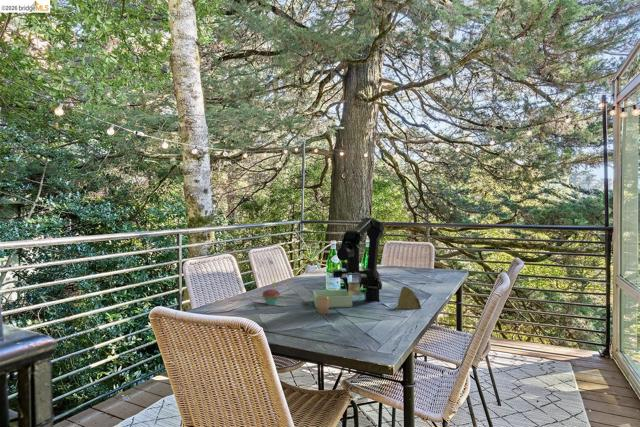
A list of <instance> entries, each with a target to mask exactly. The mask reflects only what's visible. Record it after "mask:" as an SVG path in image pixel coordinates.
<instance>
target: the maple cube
mask: <svg viewBox="0 0 640 427" xmlns="http://www.w3.org/2000/svg"><path fill="white" fill-rule="evenodd" d="M360 291H361V289H360V284H359V281H348V292H347V294H348V295H352V296H360Z"/></svg>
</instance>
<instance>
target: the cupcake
mask: <svg viewBox="0 0 640 427" xmlns="http://www.w3.org/2000/svg"><path fill="white" fill-rule="evenodd" d="M272 282H273V283H272V289H271V288H270V289H266V290H264V291H263V292H262V296H261V297H262V298H263V299H264V300H265V302H266V304H267V305H268V306H271V305H272V306H274V305H276V304H277V302H278V299H279V297H280V295H281V293H280V292H279V291H278V290H277V289H275V280H273V281H272Z"/></svg>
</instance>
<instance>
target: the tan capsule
mask: <svg viewBox="0 0 640 427" xmlns="http://www.w3.org/2000/svg"><path fill="white" fill-rule="evenodd" d="M317 313H318V314H322V315H325V314H328V313H330V308H329V297H328V296H318V308H317Z"/></svg>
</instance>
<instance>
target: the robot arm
mask: <svg viewBox="0 0 640 427" xmlns="http://www.w3.org/2000/svg"><path fill="white" fill-rule="evenodd" d="M384 231H385V225H384V224H382V222H381V221H378V220H376V219H374V218H373V217H365V218H363V220H362V221H361V222H360V223H358V225H356V226H355V227H353V228H349V229H348V230H345V233H344V234H343V236H342V240H341V242H340V248H338V250H337V252H336V257H337V258H338V260H340V261H341V265H340V266H341V269H338V268H336V269H333V270H332V272H331V273H332V274H331V275H332V277H333V278H339V279H341V280H342V281H343V284H344V287H345V290H347V292H348V282H349V281H348V276H358V283H359V284H360V290H361V289H362V288H363V289H365V291H364V300H365V301H366V302H367V303H379V302H381V299H380V290H383V283H382V280H381V279H380V274H379V271H378V268H377V267H378V257H379V256H378V255H379V254H378V253H379V244H380V240H381V238H382V237H383V235H384ZM365 233H366V235H367V237H368V252H367V254H368V255H367V262H366V263H367V266H366V268H363V270H360V248H361V242H362V240H363V238H364V237H363V235H364V234H365ZM342 269H345V270H342Z"/></svg>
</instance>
